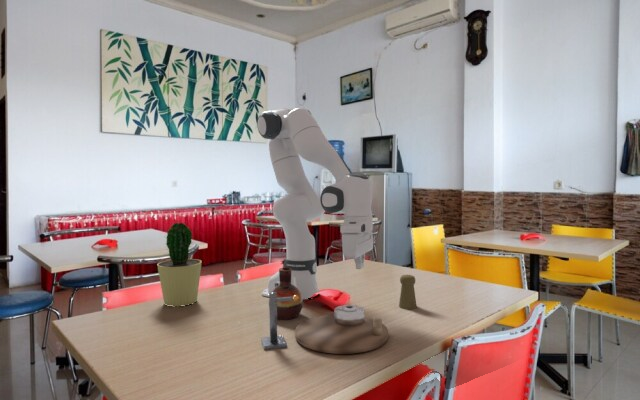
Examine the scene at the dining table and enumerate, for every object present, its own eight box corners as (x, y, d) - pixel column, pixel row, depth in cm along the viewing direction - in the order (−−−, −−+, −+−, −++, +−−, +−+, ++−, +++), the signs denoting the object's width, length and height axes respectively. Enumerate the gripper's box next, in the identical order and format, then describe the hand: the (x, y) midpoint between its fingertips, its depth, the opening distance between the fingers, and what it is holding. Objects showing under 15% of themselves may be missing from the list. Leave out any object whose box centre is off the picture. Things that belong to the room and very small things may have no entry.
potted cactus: (166, 312, 138) (164, 224, 137) (152, 302, 150) (150, 221, 149) (209, 303, 148) (207, 221, 147) (192, 294, 160) (191, 218, 159)
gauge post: (264, 349, 106) (263, 296, 105) (261, 341, 112) (260, 290, 111) (301, 345, 109) (300, 293, 108) (296, 337, 114) (296, 287, 114)
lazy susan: (278, 344, 108) (278, 324, 108) (317, 314, 132) (317, 298, 132) (373, 360, 98) (373, 338, 97) (397, 325, 122) (397, 307, 121)
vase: (309, 313, 135) (308, 267, 134) (290, 323, 125) (289, 274, 125) (282, 308, 141) (281, 264, 140) (261, 318, 131) (261, 270, 130)
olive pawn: (417, 309, 138) (416, 277, 137) (398, 308, 139) (398, 276, 138) (416, 304, 144) (416, 273, 143) (399, 303, 145) (398, 273, 144)
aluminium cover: (329, 324, 119) (329, 309, 119) (340, 314, 127) (340, 300, 127) (359, 328, 115) (359, 312, 115) (368, 318, 123) (368, 304, 123)
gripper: (359, 221, 139) (360, 262, 140) (338, 228, 121) (339, 274, 121) (377, 221, 137) (378, 262, 137) (358, 228, 118) (359, 275, 118)
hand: (359, 268), depth 129 cm, fingers closed
